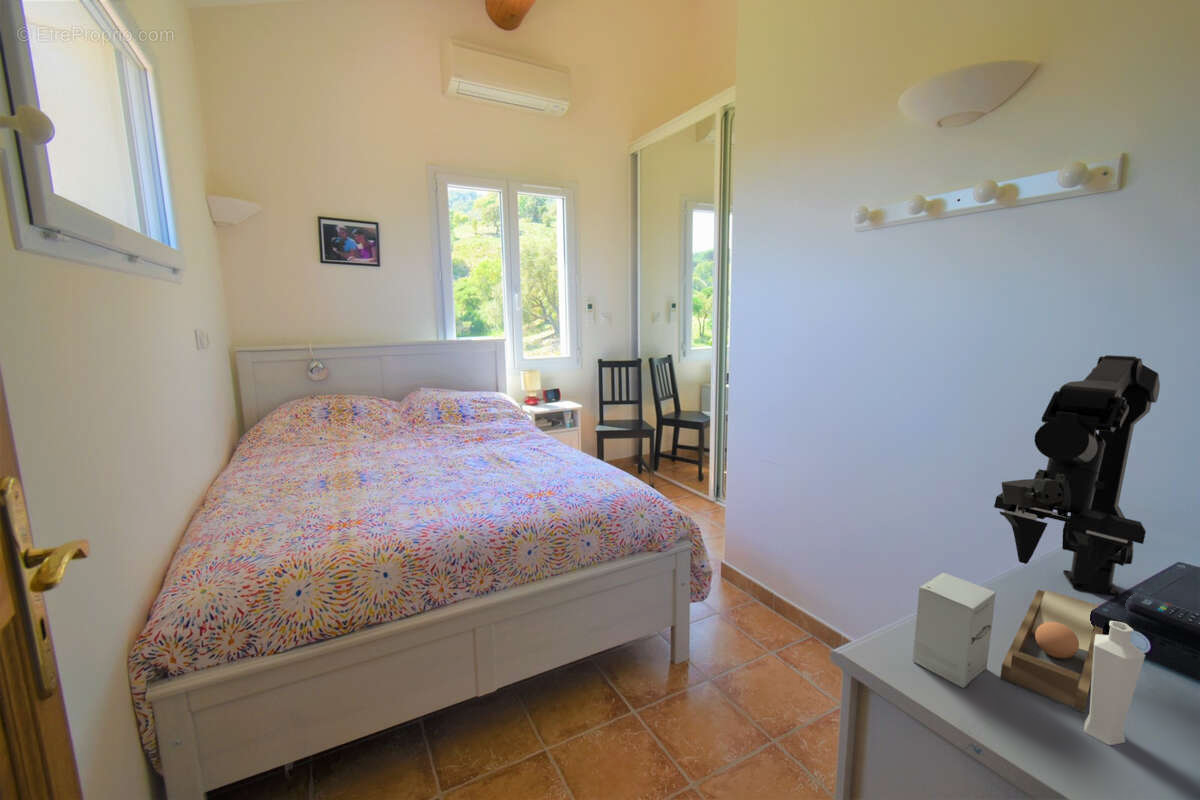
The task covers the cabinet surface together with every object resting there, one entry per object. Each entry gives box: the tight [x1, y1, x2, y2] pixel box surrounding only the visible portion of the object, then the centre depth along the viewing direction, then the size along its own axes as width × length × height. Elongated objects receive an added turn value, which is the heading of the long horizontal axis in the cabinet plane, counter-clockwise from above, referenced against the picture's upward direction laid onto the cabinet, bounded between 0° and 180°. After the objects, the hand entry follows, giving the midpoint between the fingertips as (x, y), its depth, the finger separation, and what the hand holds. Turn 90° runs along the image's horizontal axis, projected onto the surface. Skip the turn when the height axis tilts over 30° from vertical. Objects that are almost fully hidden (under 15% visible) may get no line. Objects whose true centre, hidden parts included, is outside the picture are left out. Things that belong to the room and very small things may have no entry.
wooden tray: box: [999, 589, 1104, 714], centre depth 81 cm, size 27×9×5 cm, turn 132°
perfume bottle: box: [1083, 620, 1146, 746], centre depth 65 cm, size 5×4×15 cm
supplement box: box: [912, 572, 996, 689], centre depth 78 cm, size 7×7×13 cm
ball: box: [1035, 622, 1079, 658], centre depth 79 cm, size 5×5×5 cm
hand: (1048, 572), depth 78 cm, fingers open, 9 cm apart
